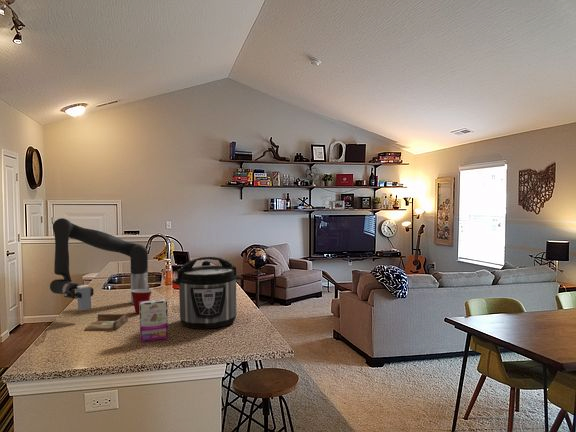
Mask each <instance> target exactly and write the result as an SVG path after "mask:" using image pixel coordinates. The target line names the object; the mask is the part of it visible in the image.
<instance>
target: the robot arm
mask: <svg viewBox="0 0 576 432" xmlns="http://www.w3.org/2000/svg"><path fill="white" fill-rule="evenodd" d="M52 229H53V230H52V231H53V235H54V243H55V244H54V246H55V250H54V267H53V268H54V273H53V274H55V275H58V276H62V277H63V278H62V279H61V278H59V279H53V280H52V281H51V282H50V284H49V290H50V292H52V293H53V294H60V295H61V294H62V295H63V297H64V298H67V299H68V298H69V299H74V300H76V299H77V300H78V298H82V294H81V293H78V292H77V286H81V285H82V284H79V283H76V282H73V281H72V278H71V274H70V254H69V239H73V240H77V241H79V242H82V243H84V244H86V245H89V246H91V247H94V248H96V249H100V250H103V251H106V252H111V253H112V252H113V253H119V254H122V255H126V256H128V257H130V291H131V290H137V289H148V290H150V284H149V285H148V283H149V282H148V280H149V279H148V278H149V277H148V273H149V272H148V268H149V265H148V264H149V261H148V260H149V258H148V257H149V256H148V253H149V252H148V250H147V247H145V246H144V245H143V244H138V243H134V242H131V241H125V240H124V239H121V238H119V237H117V236H114V235H112V234H109V233H106V232H104V231H100V230H96V229H92V228H91V229H90V228H86V227H83V226H79V225H77V224H74V223H72V222H71V221H69V220H68V219H67V218H62V217H61V218H58V219H56V220H55V221H54V222H53V224H52ZM90 288H91V297H93V296H94V295H95V294H94V293H95V292H94V288H93V287H92V286H91V287H90ZM130 303H131V304H133V305H134V302H133V297H132V293H131V292H130Z"/></svg>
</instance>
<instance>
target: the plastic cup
mask: <svg viewBox="0 0 576 432" xmlns="http://www.w3.org/2000/svg"><path fill="white" fill-rule="evenodd" d="M152 292H153V290H152V289H149V290H148V289H137V290H131V289H130V294H131V293H132V297H133V302H134V304H133V308H134V312H135V314H137V315H139V302H140V301H150V300H151V299H150V298H151V295H152Z"/></svg>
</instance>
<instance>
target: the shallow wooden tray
mask: <svg viewBox="0 0 576 432" xmlns="http://www.w3.org/2000/svg"><path fill="white" fill-rule="evenodd" d="M128 316H129V315H128V313H123V314H122V313H114V314H113V313H107V314H106V313H105V314H104V313H102V314H101V313H98V314H97V320H96V321H94V322H92V323H91V324H89V325H88V326H86V327H85V328H84V331H85V332H86V331H87V332H88V331H89V332H90V331H91V332H92V331H95V332H96V331H117V330H119V329H120V328H121V327H122V326H123V325H125V324H126V323H128V319H129V317H128Z"/></svg>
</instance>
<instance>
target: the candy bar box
mask: <svg viewBox="0 0 576 432" xmlns="http://www.w3.org/2000/svg"><path fill="white" fill-rule="evenodd" d="M138 315H139V340H140V343H148V342H155V341H156V342H157V341H164V340H168V339H169V326H168V325H169V323H168V300H167V299H166V298H163V299H162V298H161V299H160V298H159V299H153V300H151V299H150V300H149V301H140V302H139V314H138Z"/></svg>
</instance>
